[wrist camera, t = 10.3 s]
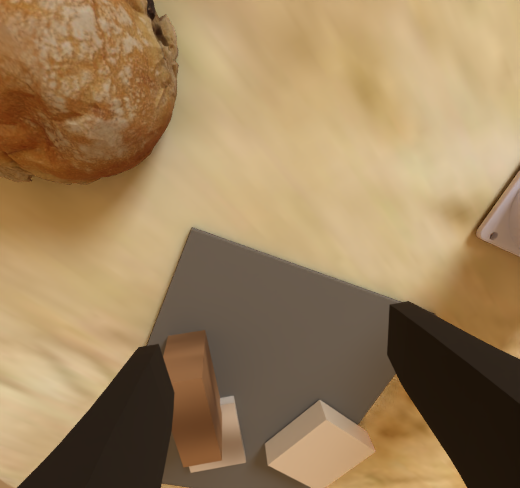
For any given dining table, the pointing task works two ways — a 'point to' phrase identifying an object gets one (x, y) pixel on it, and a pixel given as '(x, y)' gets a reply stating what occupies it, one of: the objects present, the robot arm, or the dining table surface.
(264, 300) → the mat
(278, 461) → the flat beige block
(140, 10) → the bread roll
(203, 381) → the tall brown post
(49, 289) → the dining table surface
